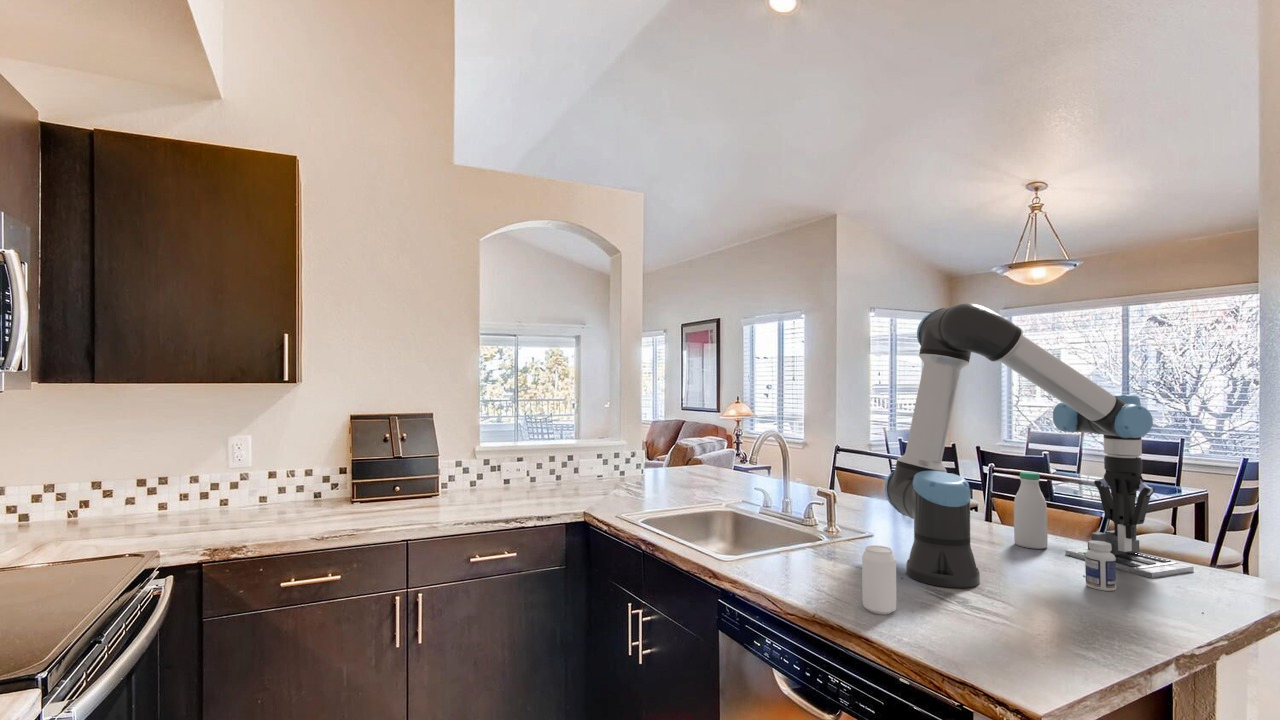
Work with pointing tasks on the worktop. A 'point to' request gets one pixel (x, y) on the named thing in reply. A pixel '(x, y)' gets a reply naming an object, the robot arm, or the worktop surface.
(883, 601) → the beverage can
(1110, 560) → the pill bottle
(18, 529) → the worktop surface
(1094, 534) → the handle left
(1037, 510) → the milk bottle
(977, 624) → the worktop surface
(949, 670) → the worktop surface
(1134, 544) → the handle right
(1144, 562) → the panel
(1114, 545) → the handle mid
